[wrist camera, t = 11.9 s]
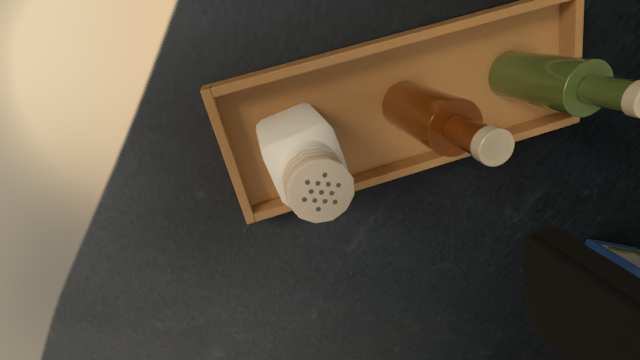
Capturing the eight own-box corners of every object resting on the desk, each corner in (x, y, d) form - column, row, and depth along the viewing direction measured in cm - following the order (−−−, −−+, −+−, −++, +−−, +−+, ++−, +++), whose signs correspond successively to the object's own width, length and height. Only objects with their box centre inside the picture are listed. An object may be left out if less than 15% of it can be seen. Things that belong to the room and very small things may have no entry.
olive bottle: (489, 101, 29) (619, 141, 19) (486, 56, 28) (624, 75, 18) (528, 90, 29) (676, 123, 20) (528, 45, 28) (685, 57, 18)
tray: (245, 212, 29) (247, 225, 27) (201, 85, 25) (199, 90, 23) (559, 116, 31) (580, 122, 29) (561, -11, 28) (585, -14, 26)
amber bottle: (385, 132, 28) (467, 189, 18) (378, 87, 27) (461, 124, 17) (427, 119, 28) (530, 170, 19) (422, 75, 27) (529, 104, 17)
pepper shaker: (308, 98, 26) (348, 136, 17) (328, 151, 28) (374, 211, 19) (251, 121, 26) (263, 171, 17) (275, 174, 27) (296, 244, 19)
